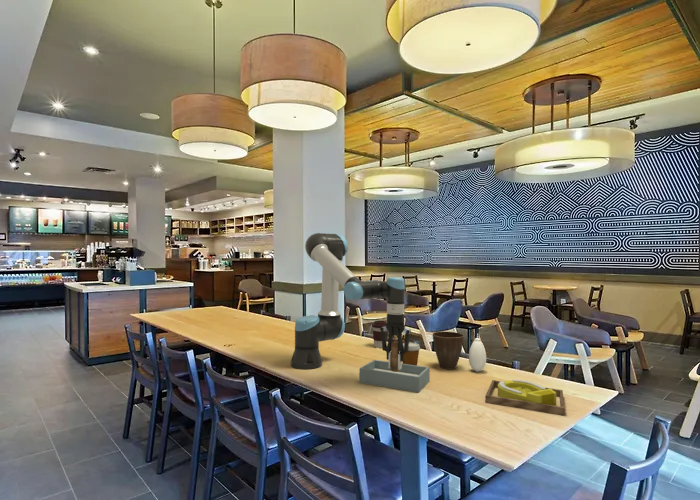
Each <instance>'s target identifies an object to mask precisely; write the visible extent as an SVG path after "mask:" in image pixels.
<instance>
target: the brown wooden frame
mask: <svg viewBox="0 0 700 500" xmlns="http://www.w3.org/2000/svg"><path fill="white" fill-rule="evenodd" d="M499 382H500V380H494V379H492V380H491V382H490V385H489V387H488V388H487V390H486V394H485V397H484V398H485V399H484V400H485V401H484V402H485V403H487V404H488V403H489V404H493V405H501V406H505V407H506V406H507V407H511V408H518V409H524V410H530V411H536V412H543V413H547V414H554V415H561V416H565V401H564V393H563V392H564V390H563V389H558V388H550V387H546V386H545V387H544V386H543V387H544V388H546V389H552V390H553V391H555V392H556V398H557V397H558V398H559V403H560V404H559V405H556V406H554V405H548V404H541V403H535V402H529V401H522V400H516V399H510V398H503V397H499V396H498V395H492V394H493V392H494V390H495V388H497V387H498V384H499Z"/></svg>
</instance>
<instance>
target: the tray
mask: <svg viewBox="0 0 700 500" xmlns="http://www.w3.org/2000/svg"><path fill="white" fill-rule="evenodd" d="M388 367H389V361H388V360H387V361H385V360H378V359H373V360H371V361H369V362H368V363H366V364H365V365H362V366H361V367H359V374H358V375H359V379H358V380H359V381H358V382H359V383H361V384H366V385H372V386H378V387H384V388H391V389H395V390H402V391H408V392H414V393H420V392H421V391H422V390H423V389H424V388H425V387H426V385H428V383H430V378H431V377H430V372H431V370H430V369H431V368H430V366H429V367H428V366H423V365H417V366H416V365H409V364H403V363H402V368H401V369H400V370H399V371H398V372H393V371H391V368H388Z"/></svg>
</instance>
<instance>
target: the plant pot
mask: <svg viewBox="0 0 700 500" xmlns="http://www.w3.org/2000/svg"><path fill="white" fill-rule="evenodd" d="M431 335H432V340H433V347H434V351H435V355H436V359H437V362H438V364H439V367H440V368H442V369H444V370H455V369H456V368H457V365H458V363H459V360H460V357H461V353H462V349H463V344H464V339H465V335H464V334H463V333H461V332H455V331H435V332H432V334H431Z"/></svg>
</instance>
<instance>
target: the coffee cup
mask: <svg viewBox="0 0 700 500" xmlns="http://www.w3.org/2000/svg"><path fill="white" fill-rule="evenodd" d="M386 324H387V320H375V321H374V323H371V327H372V339H373V346H374V348H377V349H382V333H381V330H380V328H381V327H385V326H386ZM388 337H389V332H388V330H387V329H386V339H387V340H388Z"/></svg>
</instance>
